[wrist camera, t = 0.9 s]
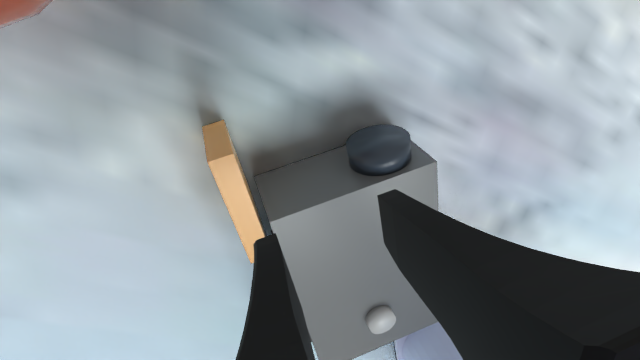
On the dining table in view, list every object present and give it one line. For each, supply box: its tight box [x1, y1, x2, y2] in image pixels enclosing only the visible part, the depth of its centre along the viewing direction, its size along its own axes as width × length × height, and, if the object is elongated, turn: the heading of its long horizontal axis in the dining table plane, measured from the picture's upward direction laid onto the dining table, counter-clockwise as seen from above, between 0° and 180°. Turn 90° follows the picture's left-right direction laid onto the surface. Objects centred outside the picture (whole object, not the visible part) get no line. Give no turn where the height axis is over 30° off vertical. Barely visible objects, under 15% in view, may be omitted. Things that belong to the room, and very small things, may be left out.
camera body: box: [254, 125, 438, 360], centre depth 21 cm, size 13×8×5 cm, turn 12°
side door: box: [202, 120, 267, 263], centre depth 20 cm, size 15×1×4 cm, turn 12°
